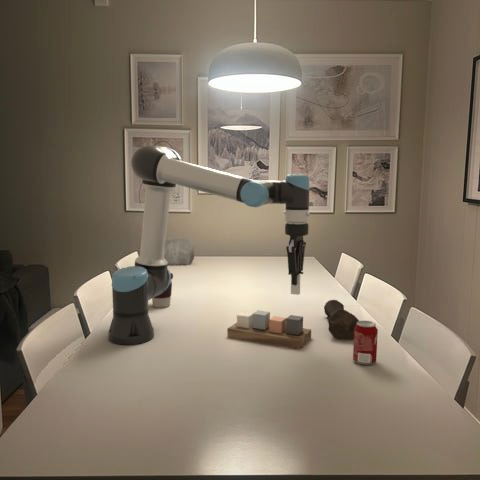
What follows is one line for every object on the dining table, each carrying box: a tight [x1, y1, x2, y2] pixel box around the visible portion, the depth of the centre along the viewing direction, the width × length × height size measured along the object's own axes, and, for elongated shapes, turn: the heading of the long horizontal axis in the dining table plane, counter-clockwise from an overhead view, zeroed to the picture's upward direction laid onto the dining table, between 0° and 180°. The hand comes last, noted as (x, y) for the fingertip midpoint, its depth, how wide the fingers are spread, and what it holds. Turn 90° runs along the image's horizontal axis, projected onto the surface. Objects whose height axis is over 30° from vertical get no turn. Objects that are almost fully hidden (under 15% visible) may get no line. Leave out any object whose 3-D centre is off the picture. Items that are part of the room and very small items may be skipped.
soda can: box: [352, 320, 379, 366], centre depth 145 cm, size 7×7×12 cm
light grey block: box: [252, 310, 271, 330], centre depth 168 cm, size 4×4×5 cm
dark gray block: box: [285, 314, 304, 335], centre depth 163 cm, size 4×4×5 cm
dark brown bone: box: [323, 299, 360, 341], centre depth 178 cm, size 11×10×28 cm
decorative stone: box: [164, 236, 195, 266], centre depth 294 cm, size 17×20×10 cm
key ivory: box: [236, 311, 253, 328], centre depth 170 cm, size 4×4×5 cm
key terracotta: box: [269, 316, 287, 334], centre depth 165 cm, size 4×4×5 cm
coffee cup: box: [151, 272, 174, 309], centre depth 204 cm, size 10×10×15 cm
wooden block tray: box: [226, 322, 312, 350], centre depth 167 cm, size 12×26×3 cm, turn 65°
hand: (295, 293), depth 161 cm, fingers closed
